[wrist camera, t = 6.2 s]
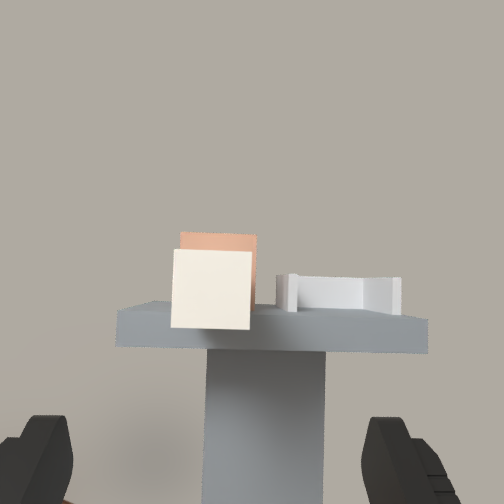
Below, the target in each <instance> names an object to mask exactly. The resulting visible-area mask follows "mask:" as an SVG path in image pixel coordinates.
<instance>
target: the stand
mask: <svg viewBox="0 0 504 504" xmlns="http://www.w3.org/2000/svg"><path fill="white" fill-rule="evenodd" d="M171 308H172V302H166V301H165V302H164V301H152V302H149V303H145V304H141V305H137V306H133V307H129V308H126V309H122V310H118V311H117V328H116V346H118V347H160V348H202V349H203V348H205V349H207V373H206V398H205V399H206V400H205V424H204V449H203V475H202V477H203V478H202V502H201V504H323V503H322V502H323V459H324V409H325V361H326V351H328V352H371V353H412V354H415V353H416V354H427V353H428V319H422V318H416V317H412V316H406V315H401V278H400V277H398V278H397V277H386V278H342V277H340V278H339V277H313V276H298V274H283V275H277V280H276V305H266V304H255V311H250V330H241V329H203V328H171Z"/></svg>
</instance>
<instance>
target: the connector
mask: <svg viewBox="0 0 504 504" xmlns="http://www.w3.org/2000/svg"><path fill="white" fill-rule="evenodd" d="M256 244H257V235H249V234H224V233H198V232H181V240H180V249H174V264H173V287H172V308H171V328H203V329H241V330H250V311H255V278H256V247H257V245H256Z"/></svg>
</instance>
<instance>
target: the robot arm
mask: <svg viewBox="0 0 504 504" xmlns="http://www.w3.org/2000/svg"><path fill="white" fill-rule="evenodd" d="M72 468H73V452H72V448H71V442H70V437H69V432H68V426H67V421H66V418H65V416H60V415H59V416H58V415H34V416H32V417H31V418H30V419H29V421H28V422H27V424H26V426H25V428H24V430H23V432H22V434H21V436H20V438H13V437H12V438H11V437H10V438H9V437H7V438H6V439H5V440H4V441H3V442H2V443H1V444H0V504H62V501H63V498H64V496H65V493H66V490H67V487H68V485H69V482H70V479H71V475H72ZM361 468H362V476H363V481H364V484H365V487H366V491H367V494H368V498H369V502H370V504H461V503H460V500H459V498H458V497H457V496H456V495H455V490H454V488H453V486H452V484H451V482H450V480H449V479H448V478H447V473H446V471H445V469H444V467H443V465H442V463H441V461H440V459H439V457H438V455H437V454H436V453H435V452H434V451H433V450H432V449H431V447H430V446H429V445H428V444H427V443H426V442H425V441H424V440H423V439H416V438H411V437H410V435H409V433H408V430H407V428H406V426H405V423H404V422H403V420H402V419H401V418H400V417H372V418H371V419H370V422H369V426H368V430H367V434H366V439H365V443H364V447H363V452H362V459H361Z"/></svg>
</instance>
